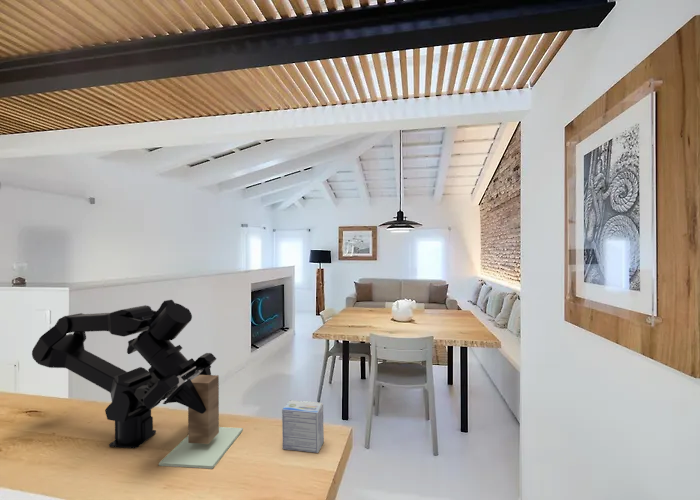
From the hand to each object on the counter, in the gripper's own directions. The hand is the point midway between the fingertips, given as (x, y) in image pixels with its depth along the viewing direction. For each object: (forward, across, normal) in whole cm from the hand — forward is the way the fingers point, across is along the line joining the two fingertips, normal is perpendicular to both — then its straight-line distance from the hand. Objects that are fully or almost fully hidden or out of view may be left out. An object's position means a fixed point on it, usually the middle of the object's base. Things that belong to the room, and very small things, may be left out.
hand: (210, 406), depth 73 cm
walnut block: (+4, 0, -6) cm, 7 cm away
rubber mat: (+5, 0, -7) cm, 9 cm away
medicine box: (+20, -2, +8) cm, 22 cm away
